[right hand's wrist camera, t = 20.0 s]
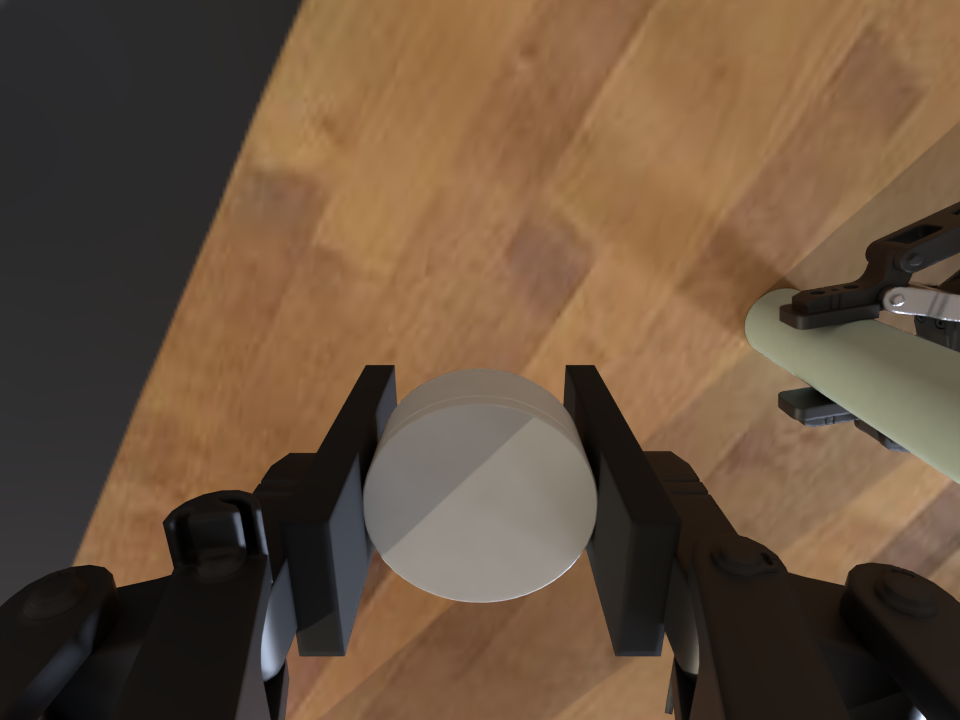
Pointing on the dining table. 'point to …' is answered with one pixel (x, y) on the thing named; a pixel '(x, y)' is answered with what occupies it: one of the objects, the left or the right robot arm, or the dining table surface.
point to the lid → (480, 488)
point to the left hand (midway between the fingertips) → (788, 364)
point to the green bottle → (872, 376)
